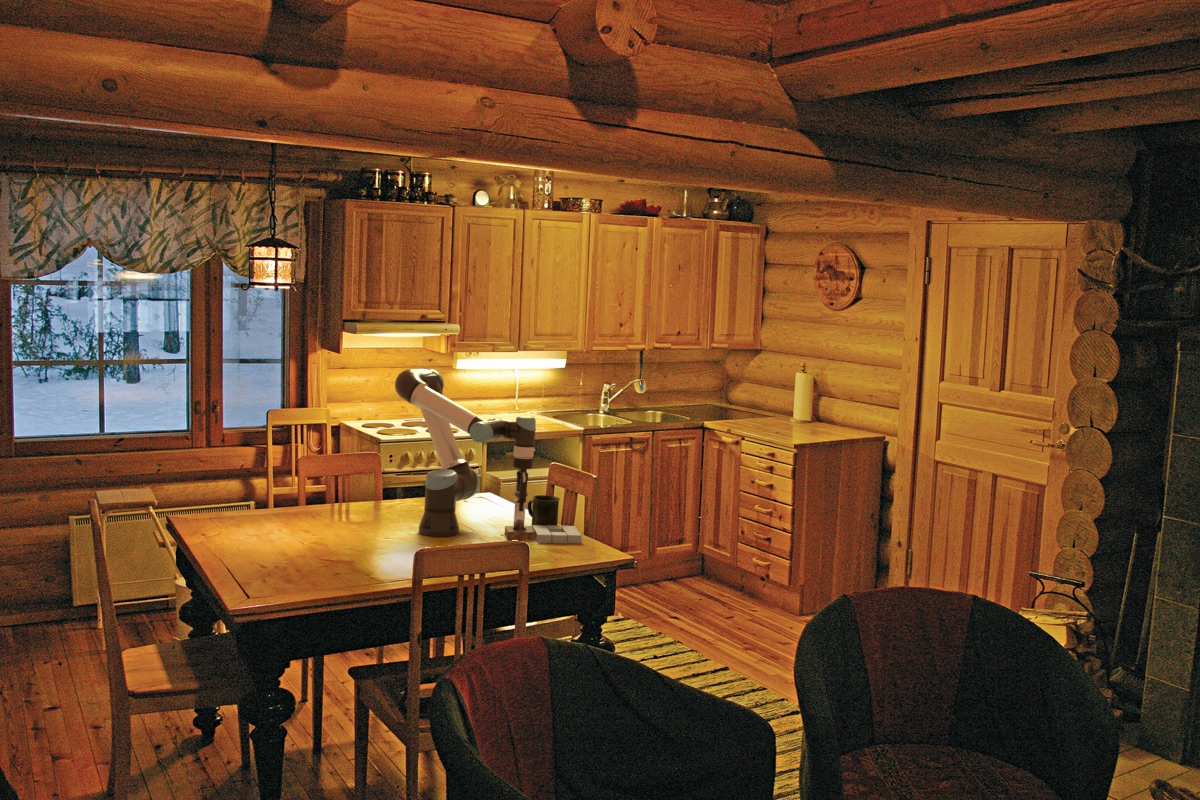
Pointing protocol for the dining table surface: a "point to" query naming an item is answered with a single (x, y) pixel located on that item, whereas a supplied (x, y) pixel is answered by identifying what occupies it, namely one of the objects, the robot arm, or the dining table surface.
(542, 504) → the mug
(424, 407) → the robot arm
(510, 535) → the mount
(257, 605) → the dining table surface
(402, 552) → the dining table surface
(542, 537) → the socket
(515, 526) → the pin
